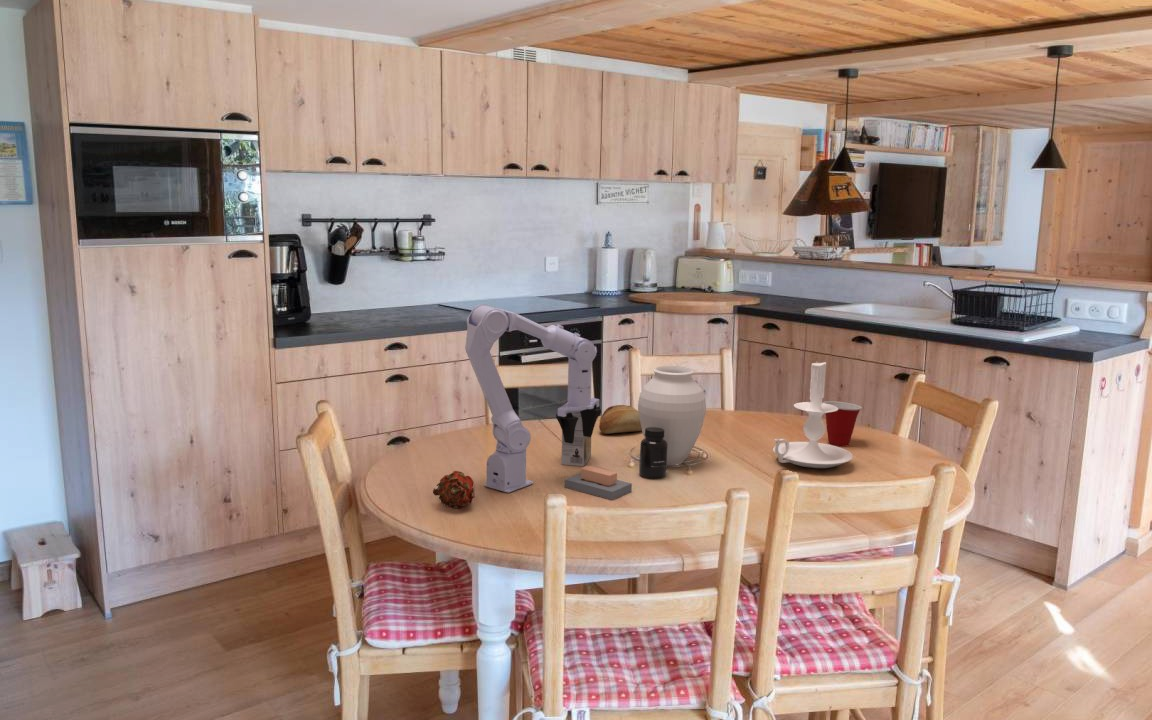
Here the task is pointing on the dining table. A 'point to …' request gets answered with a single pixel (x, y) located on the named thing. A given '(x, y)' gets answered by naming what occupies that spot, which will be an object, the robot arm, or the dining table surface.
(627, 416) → the bread roll
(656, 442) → the supplement bottle
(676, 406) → the vase
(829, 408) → the candlestick
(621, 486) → the gray rectangular slab
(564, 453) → the coffee box
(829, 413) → the plastic cup
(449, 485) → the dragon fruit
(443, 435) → the dining table surface
